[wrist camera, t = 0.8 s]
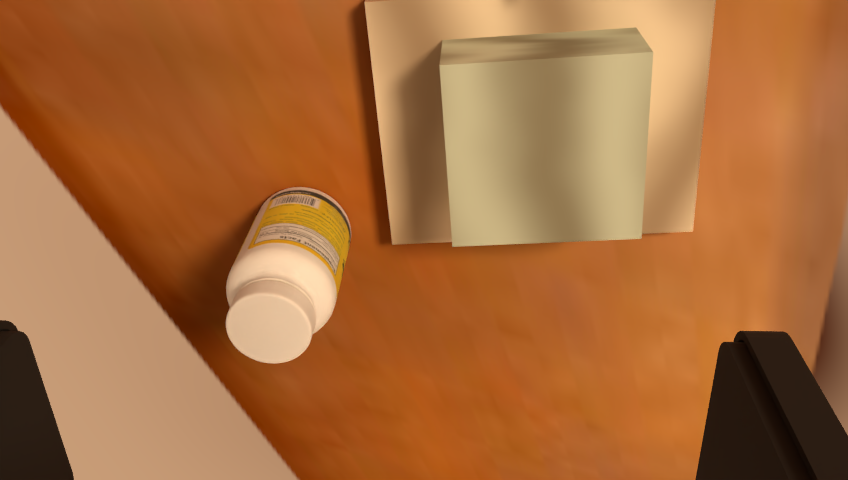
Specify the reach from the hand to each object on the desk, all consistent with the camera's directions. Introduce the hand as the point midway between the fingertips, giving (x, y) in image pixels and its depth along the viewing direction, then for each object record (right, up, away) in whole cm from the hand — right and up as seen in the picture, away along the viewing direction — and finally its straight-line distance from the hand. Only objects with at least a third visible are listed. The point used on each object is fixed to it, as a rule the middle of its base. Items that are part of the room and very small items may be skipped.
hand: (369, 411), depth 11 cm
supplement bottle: (-6, +3, +34) cm, 35 cm away
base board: (+7, +9, +30) cm, 32 cm away
